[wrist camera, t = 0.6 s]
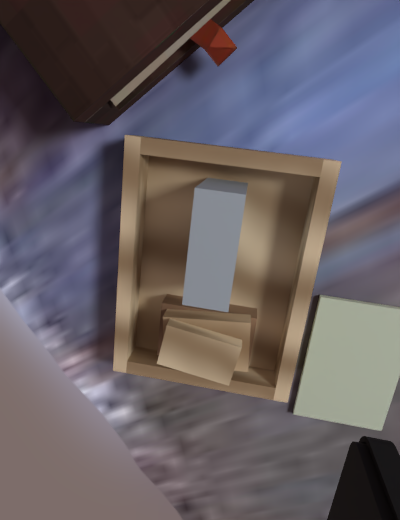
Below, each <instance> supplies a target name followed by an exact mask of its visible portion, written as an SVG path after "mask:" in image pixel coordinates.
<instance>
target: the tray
mask: <svg viewBox="0 0 400 520" xmlns="http://www.w3.org/2000/svg"><path fill="white" fill-rule="evenodd" d="M340 167H341V161H336V160H331V159H323V158H315V157H307V156H299V155H291V154H283V153H274V152H266V151H258V150H250V149H242V148H234V147H226V146H217V145H209V144H201V143H193V142H185V141H177V140H169V139H161V138H152V137H144V136H135V135H125V142H124V162H123V182H122V202H121V222H120V242H119V262H118V282H117V302H116V322H115V342H114V362H113V371H119V372H124V373H129V374H135V375H140V376H146V377H151V378H157V379H162V380H167V381H173V382H178V383H184V384H189V385H194V386H200V387H205V388H211V389H216V390H222V391H227V392H232V393H238V394H243V395H249V396H254V397H259V398H265V399H270V400H276V401H281V402H287V403H288V398H289V394H290V389H291V385H292V380H293V376H294V371H295V367H296V362H297V358H298V354H299V349H300V345H301V340H302V336H303V331H304V327H305V322H306V318H307V313H308V309H309V305H310V300H311V296H312V291H313V287H314V282H315V278H316V273H317V269H318V264H319V260H320V256H321V251H322V247H323V242H324V238H325V233H326V229H327V224H328V220H329V216H330V211H331V207H332V202H333V198H334V193H335V189H336V184H337V180H338V175H339V171H340ZM207 178H215V179H223V180H230V181H238V182H245V183H248V186H247V193H246V200H245V206H244V213H243V219H242V226H241V232H240V239H239V246H238V252H237V259H236V265H235V272H234V278H233V285H232V291H231V298H230V304H233V305H239V306H245V307H251V308H257V323H256V328H255V334H254V339H253V345H252V350H251V356H250V362H249V367H248V372H243V371H234V372H233V375H232V378H231V381H230V384H229V386H228V385H224V384H221V383H218V382H215V381H211V380H208V379H205V378H202V377H198V376H195V375H192V374H189V373H185V372H182V371H179V370H176V369H172V368H169V367H166V366H163V365H159V364H157V361H158V357H159V355H157V350H158V339H159V328H160V317H161V306H162V302H163V300H164V298H165V296H166V295H167V294H171V295H177V296H183V291H184V282H185V273H186V263H187V254H188V245H189V236H190V227H191V218H192V209H193V199H194V190H195V187H196V186H198V185H199V184H200V183H202V182H203V181H204V180H205V179H207Z"/></svg>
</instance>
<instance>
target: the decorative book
mask: <svg viewBox="0 0 400 520" xmlns="http://www.w3.org/2000/svg"><path fill="white" fill-rule="evenodd" d="M253 1H254V0H0V24H1V25H2V26H3V28H4V29H5V30H6V32H7V33H8V34H9V36H10V37H11V38H12V40H13V41H14V42H15V44H16V45H17V46H18V48H19V49H20V50H21V52H22V53H23V54H24V56H25V57H26V58H27V60H28V61H29V62H30V64H31V65H32V66H33V68H34V69H35V70H36V72H37V73H38V74H39V76H40V77H41V78H42V80H43V81H44V82H45V84H46V85H47V86H48V88H49V89H50V90H51V92H52V93H53V94H54V96H55V97H56V98H57V100H58V101H59V102H60V104H61V105H62V107H63V108H64V109H65V111H66V112H67V113H68V115H69V116H70V117H71V119H72V120H73V121H76V122H86V123H95V124H104V125H110V124H111V123H112V122H113V121H114V120H115V119H117V118H118V117H119V116H120V115H121V114H122V113H124V112H125V111H126V110H127V109H128V108H129V107H131V106H132V105H133V104H134V103H135V102H136V101H138V100H139V99H140V98H141V97H142V96H143V95H145V94H146V93H147V92H148V91H149V90H150V89H152V88H153V87H154V86H155V85H156V84H157V83H158V82H160V81H161V80H162V79H163V78H164V77H165V76H167V75H168V74H169V73H170V72H171V71H172V70H174V69H175V68H176V67H177V66H178V65H179V64H181V63H182V62H183V61H184V60H185V59H186V58H188V57H189V56H190V55H191V54H192V53H193V52H195V51H196V50H197V49H198V48H199V47H200V46H201V47H202V48H203V49H205V51H206V52H207V53H208V55H209V56H210V57H211V58H212V60H213V61H214V62H215V63H216V65H217V66H219V65H220V64H221V63H222V62H223V61H224V60H225V59H226V58H228V57H229V56H230V55H231V54H232V53H233V52H234V51H235V50H236V49H237V47H236V46H235V44H234V43H233V42H232V40H231V39H230V38H229V36H228V35H227V34H226V33H225V31H224V30H223V29H222V27H224V26H225V25H226V24H227V23H228V22H229V21H231V20H232V19H233V18H234V17H235V16H236V15H238V14H239V13H240V12H241V11H242V10H243V9H245V8H246V7H247V6H248V5H249V4H250V3H252V2H253Z"/></svg>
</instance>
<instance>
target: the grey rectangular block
mask: <svg viewBox="0 0 400 520" xmlns="http://www.w3.org/2000/svg"><path fill="white" fill-rule="evenodd" d="M247 186H248V183H245V182H238V181H230V180H223V179H215V178H207V179H205V180H204V181H203V182H202V183H200V184H199V185H198V186H196V187H195V190H194V199H193V209H192V218H191V227H190V236H189V245H188V254H187V263H186V273H185V282H184V291H183V300H182V305H186V306H192V307H199V308H205V309H211V310H217V311H223V312H228V311H229V304H230V298H231V291H232V285H233V278H234V272H235V265H236V259H237V252H238V246H239V239H240V232H241V226H242V219H243V213H244V206H245V200H246V193H247Z"/></svg>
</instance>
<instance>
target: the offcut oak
mask: <svg viewBox="0 0 400 520" xmlns="http://www.w3.org/2000/svg"><path fill="white" fill-rule="evenodd" d="M170 318H171V319H174V320H177V321H181V322H184V323H187V324H191V325H194V326H197V327H201V328H204V329H207V330H211V331H214V332H217V333H221V334H224V335H227V336H231V337H234V338H237V339H240V340H242V349H241V352H240V355H239V358H238V360H237V363H236V366H235V369H234V371H243V372H248V364H249V346H250V329H251V315H247V314H233V313H218V312H203V311H189V310H174V309H167V310H166V312H165V314H164V316H163V338H164V334H165V330H166V326H167V324H168V321H169V319H170Z"/></svg>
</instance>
